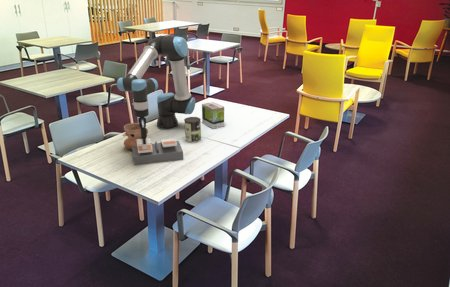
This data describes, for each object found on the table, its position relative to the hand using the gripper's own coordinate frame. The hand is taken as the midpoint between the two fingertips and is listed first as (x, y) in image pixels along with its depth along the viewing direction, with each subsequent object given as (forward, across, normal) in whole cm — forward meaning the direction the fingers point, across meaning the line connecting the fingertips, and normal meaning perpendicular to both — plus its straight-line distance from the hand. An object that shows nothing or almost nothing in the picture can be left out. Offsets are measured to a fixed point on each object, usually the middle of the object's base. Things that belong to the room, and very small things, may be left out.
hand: (144, 148), depth 207 cm
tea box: (+7, -48, +51) cm, 70 cm away
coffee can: (+8, -25, +32) cm, 41 cm away
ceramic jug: (+8, -23, -4) cm, 25 cm away
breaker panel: (+8, -6, +7) cm, 12 cm away
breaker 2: (0, -6, +14) cm, 15 cm away
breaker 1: (0, -6, 0) cm, 6 cm away
